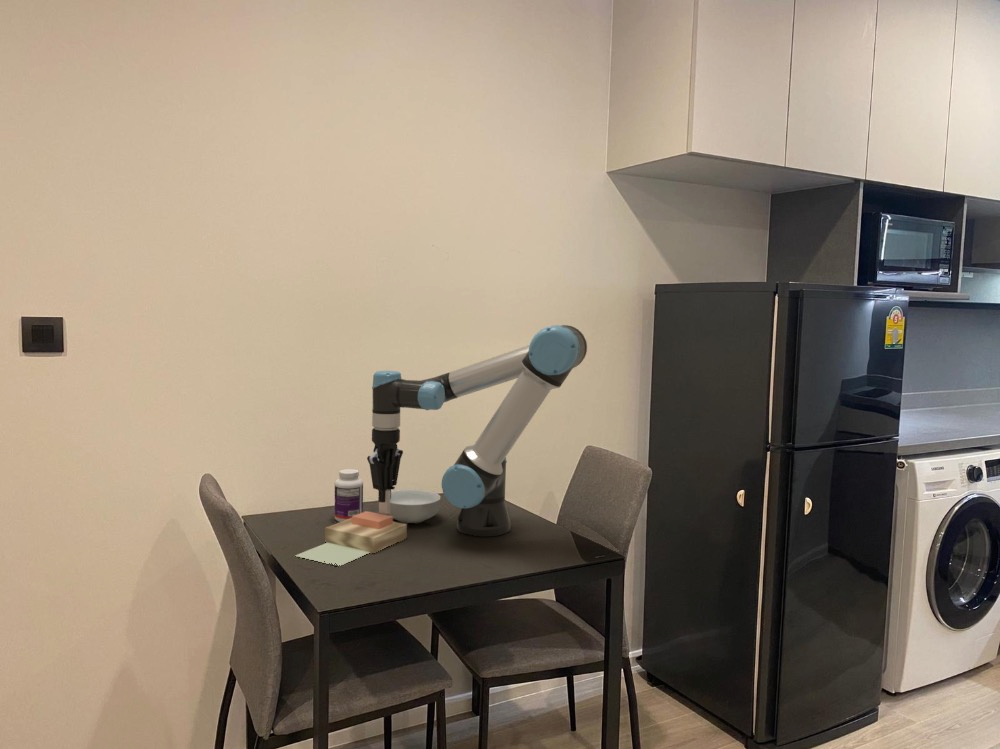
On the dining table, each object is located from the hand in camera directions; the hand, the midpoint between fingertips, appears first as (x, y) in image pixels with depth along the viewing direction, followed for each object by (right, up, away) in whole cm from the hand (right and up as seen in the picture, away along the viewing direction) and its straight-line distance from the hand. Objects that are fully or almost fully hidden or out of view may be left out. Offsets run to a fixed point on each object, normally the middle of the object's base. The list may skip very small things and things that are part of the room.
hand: (384, 512), depth 198 cm
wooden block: (-4, -6, -7) cm, 10 cm away
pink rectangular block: (-2, -2, -5) cm, 6 cm away
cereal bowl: (+6, -5, +13) cm, 15 cm away
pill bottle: (-12, -4, +11) cm, 17 cm away
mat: (-10, -7, -18) cm, 22 cm away
